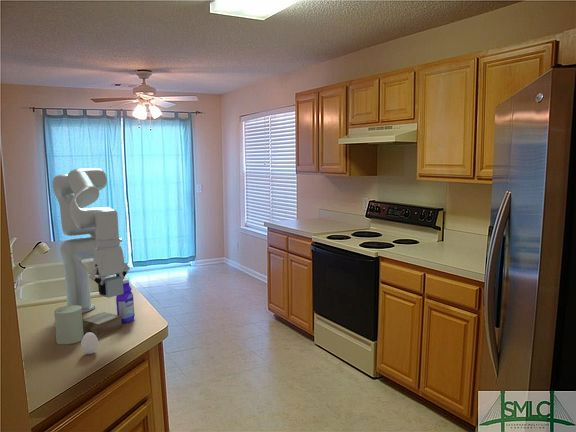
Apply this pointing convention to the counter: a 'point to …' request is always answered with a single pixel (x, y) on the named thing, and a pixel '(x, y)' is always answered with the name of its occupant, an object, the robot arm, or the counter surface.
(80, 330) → the can
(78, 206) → the robot arm
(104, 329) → the walnut block
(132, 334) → the counter surface
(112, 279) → the grey cube
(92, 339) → the egg
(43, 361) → the counter surface
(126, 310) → the bottle
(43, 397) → the counter surface
